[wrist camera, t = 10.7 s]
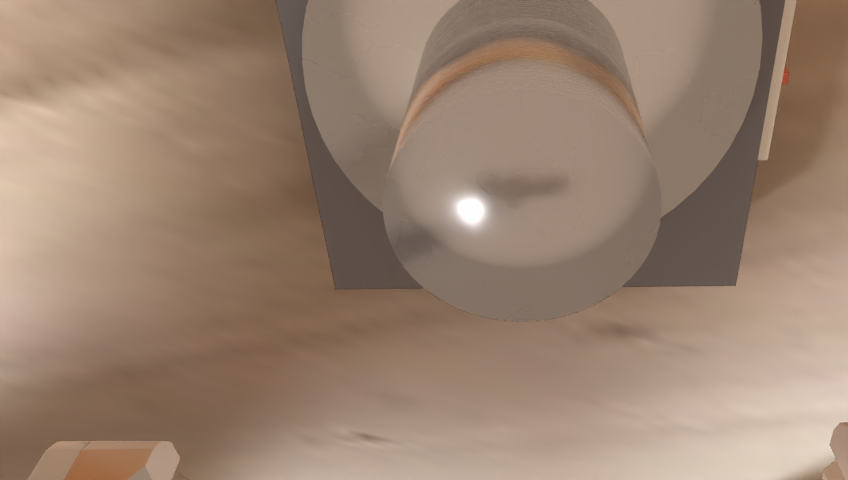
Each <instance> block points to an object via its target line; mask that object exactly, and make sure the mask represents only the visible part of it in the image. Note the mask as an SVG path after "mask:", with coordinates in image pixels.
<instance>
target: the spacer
mask: <svg viewBox="0 0 848 480" xmlns="http://www.w3.org/2000/svg"><path fill="white" fill-rule="evenodd" d="M661 210H662V203H661V190H660V186H659V181H658V177H657V173H656V169H655V166H654V162H653V159H652V155H651V151H650V148H649V144H648V141H647V137H646V134H645V130H644V126H643V123H642V119H641V116H640V112H639V109H638V105H637V101H636V98H635V94H634V91H633V87H632V84H631V80H630V76H629V73H628V69H627V66H626V62H625V59H624V55H623V51H622V48H621V45H620V42H619V40H618V37H617V35H616V33H615V31H614V29H613V28H612V26H611V24H610V22H609V21H608V20H607V19H606V17H605V16H604V15H603V13H602V12H601V11H600V10H599V9H598V8H597V7H596V6H594V5H593V4H592V3H591V2H590V1H588V0H460V1H458V2H457V3H456V4H455V5H454V6H453V7H451V8H450V9H449V10H448V11H447V12H446V13H445V14H444V16H443V17H442V18H441V19H440V20H439V21H438V23H437V24H436V26H435V27H434V29H433V30H432V32H431V34H430V36H429V38H428V40H427V42H426V44H425V47H424V51H423V54H422V57H421V60H420V64H419V67H418V71H417V74H416V78H415V81H414V85H413V88H412V92H411V95H410V99H409V102H408V106H407V109H406V113H405V116H404V120H403V123H402V127H401V130H400V134H399V137H398V141H397V144H396V148H395V151H394V155H393V158H392V162H391V165H390V169H389V172H388V176H387V179H386V184H385V189H384V195H383V216H384V223H385V228H386V232H387V235H388V238H389V241H390V244H391V246H392V248H393V250H394V252H395V254H396V256H397V257H398V259H399V261H400V262H401V264H402V265H403V267H404V268H405V269H406V270H407V272H408V273H409V274H410V275H411V276H412V277H413V279H415V280H416V281H417V282H418V283H419V284H420V285H421V286H422V287H423V288H424V289H426V290H427V291H428V292H430V293H431V294H433V295H434V296H435V297H437V298H438V299H440V300H442V301H444V302H445V303H447V304H449V305H451V306H453V307H455V308H458V309H460V310H462V311H465V312H468V313H471V314H474V315H477V316H481V317H485V318H490V319H495V320H504V321H526V322H529V321H540V320H548V319H553V318H558V317H563V316H566V315H569V314H573V313H576V312H579V311H581V310H584V309H586V308H588V307H591V306H593V305H595V304H596V303H598V302H600V301H602V300H604V299H605V298H607V297H608V296H610V295H611V294H613V293H614V292H615V291H617V290H618V289H620V288H621V287H622V286H623V285H624V284H625V283H626V282H627V281H628V280H629V279H630V278H632V276H633V275H634V274H635V273H636V272H637V270H638V269H639V268H640V267H641V266H642V264H643V262H644V261H645V259H646V258H647V256H648V254H649V253H650V251H651V249H652V246H653V244H654V242H655V239H656V237H657V233H658V229H659V225H660V220H661Z"/></svg>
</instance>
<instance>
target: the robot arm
mask: <svg viewBox="0 0 848 480" xmlns="http://www.w3.org/2000/svg"><path fill="white" fill-rule="evenodd" d="M830 447H831V449H832V451H833V453H834V456H835V458H836V461H835V462H834V463H832V464H831V465H830V466H828V467H827V468H826V469H824V470H823V475H822V480H848V422H843V423H839V424H838V426H837V427H836V428H835V429H834V430H833V434H832V438H831V442H830ZM179 461H180V457H179V455H178V453H177V451H176V449H175V447H174V446H173V444H172V442H168V441H57V442H56V443H55V444H53V445H52V446H51V447H49V448H48V449H46V451H45V452H44V454H43V455H42V457H41V458H40V460H39V462H38V463H37V465H36V466H35V468H34V470H33V471H32V473H31V474H30V476H29V478H28V479H27V480H188V479H187V478H185V477H184V476H182V475H181V474H179V473H178V472H177V471H175V470H176V468H177V466H178V463H179Z"/></svg>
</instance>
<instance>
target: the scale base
mask: <svg viewBox="0 0 848 480" xmlns="http://www.w3.org/2000/svg"><path fill="white" fill-rule="evenodd" d="M759 1H760V6H761V19H762V37H763V39H762V50H761V61H760V69H759V74H758V78H757V82H756V86H755V91H754V95H753V98H752V101H751V103H750V106H749V108H748V111H747V114H746V116H745V119H744V121H743V124H742V126H741V127H740V129H739V131H738V133H737V135H736V137H735V138H734V140H733V142H732V144H731V146H730V148H729V149H728V151H727V152H726V153H725V155H724V156H723V157H722V159H721V160H720V162H719V163H718V164H717V166H716V167H715V169H714V170H713V171H712V172H711V173H710V175H709V176H708V177H707V178H706V179H705V180H704V181H703V182H702V183H701V184H700V185H699V187H698V188H697V189H696V190H695V191H694V192H693V193H692V194H690V195H689V196H688V197H687V198H686V199H685V200H683V201H682V202H681V203H680V204H679V205H678V206H676V207H675V208H674V209H673V210H671V211H670V212H668V213H667V214H665V215H664V216H663V217H661V220H660V225H659V229H658V233H657V237H656V239H655V242H654V244H653V246H652V249H651V251H650V253H649V254H648V256H647V258H646V259H645V261H644V262H643V264H642V266H641V267H640V268H639V269H638V270H637V272H636V273H635V274H634V275H633V276H632V278H630V279H629V280H628V281H627V282H626V283H625V284H624V285H623V286H622V287H653V286H736V281H737V276H738V270H739V264H740V258H741V253H742V247H743V241H744V235H745V230H746V224H747V218H748V212H749V207H750V201H751V195H752V189H753V184H754V178H755V172H756V166H757V161H758V160H768V155H769V150H770V144H771V139H772V133H773V128H774V122H775V117H776V111H777V106H778V100H779V95H780V89H781V85H782V84H787V82H788V76H789V72H788V71H787V69H786V68H785V62H786V57H787V51H788V46H789V40H790V35H791V29H792V24H793V18H794V13H795V7H796V2H797V0H759ZM307 2H308V0H276V3H277V8H278V13H279V18H280V23H281V28H282V32H283V37H284V42H285V47H286V52H287V57H288V62H289V66H290V71H291V76H292V81H293V86H294V91H295V95H296V100H297V105H298V110H299V115H300V120H301V125H302V129H303V134H304V139H305V144H306V149H307V154H308V159H309V163H310V168H311V173H312V178H313V183H314V188H315V192H316V197H317V202H318V207H319V212H320V217H321V222H322V226H323V231H324V236H325V241H326V246H327V251H328V256H329V260H330V265H331V270H332V275H333V280H334V285H335V289H421V288H423V287H422V286H421V285H420V284H419V283H418V282H417V281H416V280H415V279H413V277H412V276H411V275H410V274H409V273H408V272H407V270H406V269H405V268H404V267H403V265H402V264H401V262H400V261H399V259H398V257H397V256H396V254H395V252H394V250H393V248H392V246H391V244H390V241H389V238H388V235H387V232H386V228H385V223H384V216H383V212H382V211H381V210H380V209H378V208H377V207H376V206H375V205H373V204H372V203H371V202H370V201H369V200H367V199H366V197H365V196H364V195H363V194H362V193H361V192H360V191H359V190H358V189H357V188H356V187H355V186H354V185H353V184H352V183H351V182H350V181H349V179H348V178H347V176H346V175H345V174H344V172H343V171H342V170H341V168H340V167H339V166H338V164H337V163H336V162H335V160H334V158H333V157H332V155H331V153H330V151H329V150H328V148H327V146H326V144H325V143H324V141H323V139H322V137H321V134H320V132H319V130H318V127H317V125H316V122H315V120H314V117H313V115H312V111H311V108H310V104H309V100H308V96H307V93H306V89H305V81H304V73H303V65H302V33H303V26H304V19H305V12H306V6H307Z"/></svg>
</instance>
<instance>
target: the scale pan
mask: <svg viewBox="0 0 848 480" xmlns="http://www.w3.org/2000/svg"><path fill="white" fill-rule="evenodd" d="M458 1H460V0H308V2H307V6H306V12H305V19H304V26H303V33H302V65H303V73H304V81H305V89H306V93H307V96H308V100H309V104H310V108H311V111H312V115H313V117H314V120H315V122H316V125H317V127H318V130H319V132H320V134H321V137H322V139H323V141H324V143H325V144H326V146H327V148H328V150H329V151H330V153H331V155H332V157H333V158H334V160H335V162H336V163H337V164H338V166H339V167H340V168H341V170H342V171H343V172H344V174H345V175H346V176H347V178H348V179H349V181H350V182H351V183H352V184H353V185H354V186H355V187H356V188H357V189H358V190H359V191H360V192H361V193H362V194H363V195H364V196H365V197H366V199H367V200H369V201H370V202H371V203H372V204H373V205H375V206H376V207H377V208H378V209H380V210H381V211H382V212H383V195H384V189H385V184H386V179H387V176H388V172H389V169H390V165H391V162H392V158H393V155H394V151H395V148H396V144H397V141H398V137H399V134H400V130H401V127H402V123H403V120H404V116H405V113H406V109H407V106H408V102H409V99H410V95H411V92H412V88H413V85H414V81H415V78H416V74H417V71H418V67H419V64H420V60H421V57H422V54H423V51H424V47H425V44H426V42H427V40H428V38H429V36H430V34H431V32H432V30H433V29H434V27H435V26H436V24H437V23H438V21H439V20H440V19H441V18H442V17H443V16H444V14H445V13H446V12H447V11H448V10H449V9H450V8H451V7H453V6H454V5H455V4H456V3H457V2H458ZM588 1H590V2H591V3H592V4H593V5H594V6H596V7H597V8H598V9H599V10H600V11H601V12H602V13H603V15H604V16H605V17H606V19H607V20H608V21H609V22H610V24H611V26H612V28H613V29H614V31H615V33H616V35H617V37H618V40H619V42H620V45H621V48H622V51H623V55H624V59H625V62H626V66H627V69H628V73H629V76H630V80H631V84H632V87H633V91H634V94H635V98H636V101H637V105H638V109H639V112H640V116H641V119H642V123H643V126H644V130H645V134H646V137H647V141H648V144H649V148H650V151H651V155H652V159H653V162H654V166H655V169H656V173H657V177H658V181H659V186H660V190H661V203H662V210H661V217H663V216H664V215H665V214H667V213H668V212H670V211H671V210H673V209H674V208H675V207H676V206H678V205H679V204H680V203H681V202H682V201H683V200H685V199H686V198H687V197H688V196H689V195H690V194H692V193H693V192H694V191H695V190H696V189H697V188H698V187H699V185H700V184H701V183H702V182H703V181H704V180H705V179H706V178H707V177H708V176H709V175H710V173H711V172H712V171H713V170H714V169H715V167H716V166H717V164H718V163H719V162H720V160H721V159H722V157H723V156H724V155H725V153H726V152H727V151H728V149H729V148H730V146H731V144H732V142H733V140H734V138H735V137H736V135H737V133H738V131H739V129H740V127H741V126H742V124H743V121H744V119H745V116H746V114H747V111H748V108H749V106H750V103H751V101H752V98H753V95H754V91H755V86H756V82H757V78H758V74H759V69H760V61H761V50H762V39H763V37H762V19H761V6H760V1H759V0H588Z"/></svg>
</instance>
